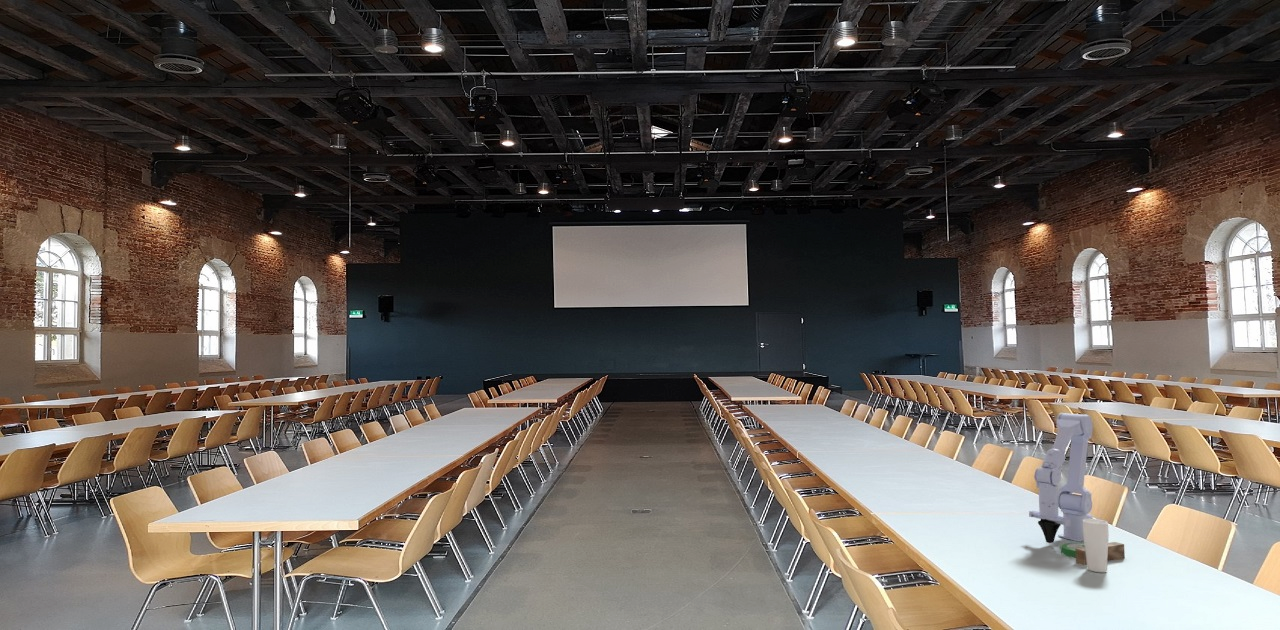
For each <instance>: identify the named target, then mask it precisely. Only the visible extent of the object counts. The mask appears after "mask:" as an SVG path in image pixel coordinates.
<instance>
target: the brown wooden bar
mask: <svg viewBox="0 0 1280 630" xmlns="http://www.w3.org/2000/svg"><path fill="white" fill-rule="evenodd" d="M1125 553H1126V552H1125V544H1124V543H1121V542H1118V541H1111V542H1108V557H1107V562H1111V561H1117V560H1122V559H1125V558H1126V557H1125ZM1075 556H1076V558H1075V563H1076V564H1080V565H1082V566H1087V561H1086V553H1085V547H1080V548H1075Z"/></svg>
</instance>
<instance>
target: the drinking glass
mask: <svg viewBox="0 0 1280 630" xmlns="http://www.w3.org/2000/svg"><path fill="white" fill-rule="evenodd" d="M1109 532H1110V531H1109V522H1108V521H1107V520H1104V519H1099V518H1093V519H1083V538H1084V541H1083V544H1084V546H1085V553H1086V561H1087V565H1086V568H1087V570H1088V571H1091V572H1095V573H1105V572H1106V573H1107V571H1108V561H1107V557H1108V543H1109V536H1110V535H1109V534H1110V533H1109Z"/></svg>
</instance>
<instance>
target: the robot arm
mask: <svg viewBox="0 0 1280 630" xmlns="http://www.w3.org/2000/svg"><path fill="white" fill-rule="evenodd" d="M1055 422H1056V428H1057V432H1056V436H1055V440H1054V443H1053V445H1052V448H1049V449H1048V450H1047V451H1046V454H1045V457H1044V459H1043V461H1042V464H1041V466H1039V467H1038V468H1036V469H1035V472H1034V474H1033V475H1034V476H1033V477H1034V481H1035V484H1036V488H1037V489H1038V504H1039V505H1038V508H1039V509H1038V510H1039V511H1035V510H1030V511H1028V517H1029V518H1034V519H1035V518H1036V519H1039V520H1038V521H1037V524H1038V526H1039V527H1040V528H1041V531H1042V533H1043V536H1044V539H1045V542H1046V543H1048V544H1052V543H1053V544H1054V543H1055V539H1056V535H1057V537H1060V538H1063V539H1067V540H1071V541H1074V542H1084V538H1083V519H1094V518H1093V516H1092V515H1091V514H1090V513H1091V511H1092V509H1093V502H1092V501H1093V500H1092V493H1091V492H1090V491H1089V490H1088V489H1087V488H1086V487H1085V486H1084V484H1085V476H1086V474H1085V473H1086V462H1087V454H1088V444H1089V440H1090V439H1092V437H1093V436H1092V435H1093V427H1094V422H1093V420H1092V418H1091V416H1090V415H1089V414H1078V413H1067V412H1066V413H1065V412H1060V413H1059V414H1058V415H1057V416H1056V421H1055ZM1069 443H1071V444H1070V449H1069V451H1070V452H1069V459H1068V460H1069V462H1068V472H1067V481H1066V484H1064V485H1062V486H1061V487H1059V492H1058V485H1059V484H1060V483H1061V479H1062V470H1061V469H1062V467H1063V465H1064V462H1065V459H1066V454H1065V451H1066V449H1067V448H1068V445H1069ZM1059 510H1060V512H1061V513H1062V516H1061V515H1059ZM1061 525H1063V533H1061V534H1057V532H1058V530H1059V528H1060V527H1061Z"/></svg>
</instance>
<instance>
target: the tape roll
mask: <svg viewBox="0 0 1280 630" xmlns="http://www.w3.org/2000/svg"><path fill="white" fill-rule="evenodd" d="M1080 547H1085V546H1084V543H1080V542H1079V543H1078V542H1067V543H1062V544H1061V547H1060V548H1061V554H1063V556H1066V557H1069V558H1074V559H1076V556H1075V548H1080Z"/></svg>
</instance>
